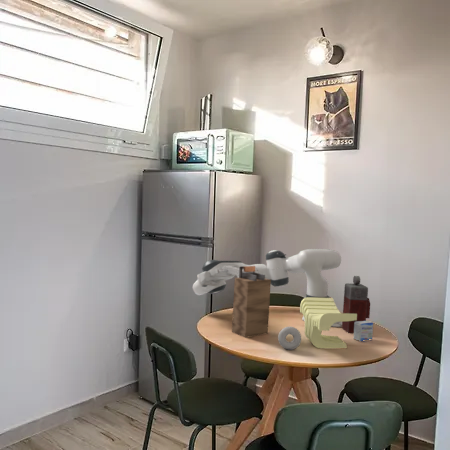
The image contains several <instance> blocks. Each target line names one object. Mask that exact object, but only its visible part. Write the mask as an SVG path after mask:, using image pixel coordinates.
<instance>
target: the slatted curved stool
mask: <svg viewBox="0 0 450 450" xmlns="http://www.w3.org/2000/svg"><path fill="white" fill-rule="evenodd" d="M299 305H300V306H299V313H300V314H302V316H303V315H304V318H305V321H304V335H305V338H307V340H309V342H310V343H311V344H312V345H313V346H314V347H315V348H318V349H336V348H347V346H348V345H347V343H346V342H345V341H344V340H343V339H342V338H340V337H339V336H337V335H326V334H322V332H323V331H325V332H326V331H327V332H329V331H330V330H331V327H332V325H333V324H334V323H336V322H343V321H354V320H357V314H349V313H343V312H342V313H341V312H340V309H338V306H337V305H336V302H335V300H334V298H333V297H331V298H314V297H307V298H306V297H304V298H303V299H302V300H301V302H300V304H299Z"/></svg>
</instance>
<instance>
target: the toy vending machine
mask: <svg viewBox="0 0 450 450" xmlns="http://www.w3.org/2000/svg"><path fill="white" fill-rule="evenodd" d="M352 282H353V283H349V282H348V283H344V291H343V294H344V295H343V307H342V308H343V309H342V313H349V314H357V320H354V321H343V322H342V327H341V329H342V330H344V331H345V332H346V333H347V332H348V333H347V334H354V322H357V321H367V319H370V316H371V315H370V314H371V313H370V312H371V302H370V298H369V294H368V293H369V287H368V286H365V285H363V284H362V283H361V277H360V275H354V276H353V277H352Z"/></svg>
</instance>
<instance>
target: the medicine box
mask: <svg viewBox="0 0 450 450" xmlns="http://www.w3.org/2000/svg"><path fill="white" fill-rule="evenodd" d="M373 330H374V322H373V321H370V320H366V321H357V322H354V333H353V340H354V339H356V340H355V341H357V340H359V341H363V340H369V339H372V340H373V333H374V331H373ZM359 341H358V342H359ZM363 342H364V341H363Z"/></svg>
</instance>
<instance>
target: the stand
mask: <svg viewBox="0 0 450 450" xmlns="http://www.w3.org/2000/svg"><path fill="white" fill-rule="evenodd" d="M244 267H245V266H242V267H240V268H239V278H238V277H234V283H233V285H234V286H233V288H234V289H233V301H232V302H233V304H232V307H233V308H232V321H231V322H232V323H231V324H232V325H231V332H232V333H233V334H235V335H238V336H241V337H243V338H251V337H255V336H262V335H267V334H268V333H269V319H270V318H269V316H270V300H271V299H270V298H271V286H272V285H271V280H270V279H266V278H265V275H263V274H259V273H255V271H253V275H252V274H248V273H244V272H242V269H244Z"/></svg>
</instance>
